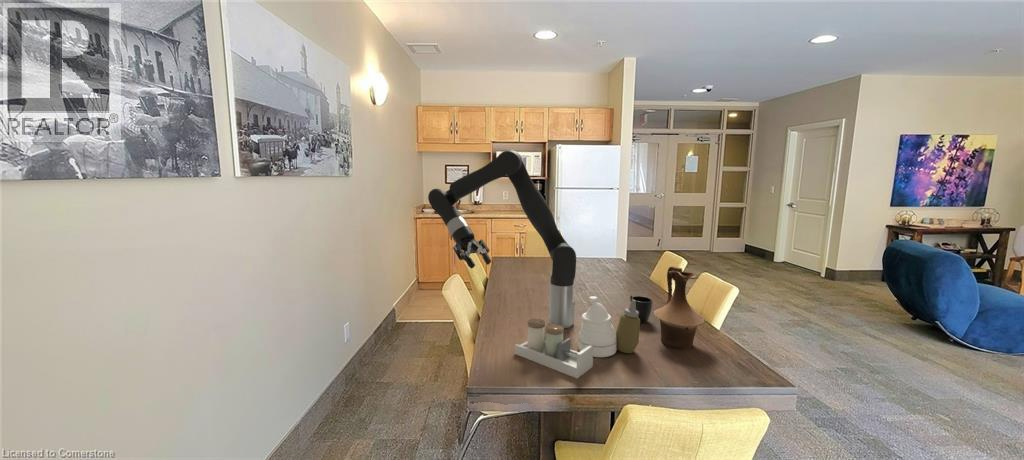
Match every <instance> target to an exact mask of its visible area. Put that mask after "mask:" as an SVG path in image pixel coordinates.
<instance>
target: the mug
mask: <svg viewBox="0 0 1024 460" xmlns="http://www.w3.org/2000/svg"><path fill="white" fill-rule="evenodd" d="M629 300H630V302H631V301H632V300H635V301H636V310H637V311H638V312H639V315H638V318H639V319H640V324H647V323H648V322H649V321H648V320H649V318H650V316H651V314H652V309H653V308H652V307H653V299H652V298H650V297H648V296H641V295H633V294H631V295H630V298H629ZM646 322H647V323H646Z"/></svg>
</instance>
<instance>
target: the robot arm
mask: <svg viewBox="0 0 1024 460" xmlns="http://www.w3.org/2000/svg"><path fill="white" fill-rule="evenodd" d="M504 177H507V178H508V179H509V181H510V182H511V183H512V185H513V186H514V189H515V192H516V195H517V198H518V200H519V204H520V206H521V208H522V210H523V212H524V214H525V215H526V217H527V219H528V220H529V221H528V222H530V223H531V225H532V227H533V228H534V229H535V231H536V232H537V233H538V235H540V236H539V237H541V239H542V242H544V244H545V246H546V249H547V251H548V254H549V255H550V258H551V260H552V267H551V270H552V271H551V275H550V287H549V288H550V290H549V291H550V292H549V294H550V295H549V318H548V319H549V321H548V323H549V324H548V325H551V324H556V325H560V326H562V327H563V328H564V329H568V328H571V327H572V326H574V324H575V310H576V309H575V308H576V307H575V305H576V304H575V303H576V302H575V301H574V284H575V283H574V281H575V279H576V270H577V254H576V250H575V249H574V248H573V247H572V246H571V245H570V244H569V243H567V241H566V239H565V238H564V236H563V235H562V234H561V233H560V230H559V229H558V227H557V223H556V221H555V220H556V219H555V218H554V216H553V213H552V210H551V209H550V207H549V205H548V204H547V201H546V199H545V198H544V196H543V195H542V193H541V191H540V190H539V188H538V187H537V186H536V184H535V183H534V181H533V179H532V178H531V176H530V175H529V172H528V170H527V168H526V166H525V164H524V161H523V158H522V156H521V155H520V153H519V152H517V151H516V150H513V149H506V150H504V151H502V152H501V153H499V155H497V156H496V157H495V158H494V159H493V160H491V161H490V162H489V163H487V164H486V165H484V166H482V167H481V168H478V169H476V170H475V171H472V172H470V173H468V174H466V175H464V176H462V177H460V178H458V179H456V180H454V181H453V182H451V183H450V185H449V189H448V190H446V191H445V190H442V189H440V188H433V189H431V190H430V191H429V193H428V196H427V198H428V199H427V200H428V203H429V204H430V206H431V207H432V209H433V210H434V212H436V213H437V215H438V216H439V217H440V218H441V220H442V221H443V223H444V225H445V226H446V228H447V231H448V232H449V234H450V236H451V238H452V240H454V242H455V245H454V246H453V247H452V249H453V251H454V252H455V254H456V256H457V258H458V259H459V260H458V261H462V260H463V261H465V262H466V264H467V266H468V267H469V268H470V269H471V270H472V269H473V268H475V266H476V264H475V261H474V260H473V258H471V257H470V255H471V254H476V255H479V256H481V257H482V259H483V260H484V263H485V264H486V265H490V264H491V263H492V259H491V258H490V256H489V255H488V254H489V252H490V248H489V247H488V245H487V244H486V242H485V241H484V240H483V239H482V238H481V239H480V240H476V239H475V234H474V232H473V231H472V229H471V227H470V226H469V225H468V222H466V220H465V219H464V218H463V217H462V215H461V213H460V211H459V210H458V209H457V207H455V206H454V205H455V204H456V203H458V202H459V201H460V200H461V199H462V198H465V197H467V196H468V195H471V194H472V193H474V192H475V191H477V190H479V189H481V188H482V187H483V186H486V185H487V184H489V183H490V182H491V183H492V182H494V181H495V180H498V179H500V178H504Z"/></svg>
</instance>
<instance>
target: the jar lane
mask: <svg viewBox="0 0 1024 460" xmlns="http://www.w3.org/2000/svg"><path fill="white" fill-rule="evenodd" d="M545 345H546V339H544V352H543V353H540V352H537V351H535V350H532V349H529V348H528V340H527V341H525V342H523V343H521V344H518V343H515V345H514V354H515V355H516V356H520V357H521V358H525V359H526V360H530V361H532V362H535V363H537V364H540V365H542V366H545V367H547V368H550V369H552V370H554V371H558V372H560V373H562V374H565V375H568V376H570V377H572V378H575V379H579V378H580V377H582V376H583V375H584V374H586V372H588V371H590V369H592V368H594V367H593V366H594V357H592V346H590V345H589V346H588V347H586V348H585V349H583V350H582V351H580V350H579V351H577V350H574V349H571V348H570V353H572V354H575V355H576V357H575V358H573V357H570V356H569V357H568V358H567V359H565V360H564V361H561V360H559V359H556V358H553V357H551V356H548V355H545Z"/></svg>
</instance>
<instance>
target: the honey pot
mask: <svg viewBox="0 0 1024 460" xmlns="http://www.w3.org/2000/svg"><path fill="white" fill-rule="evenodd" d="M597 300H598V296H595V295H592V296H589V301H590V302H591V303H592V304H591V305H590V306H589V308H588V309H587V311H586V312H584V313H582V315H581V319H582V320H583V321H582V323H581V327H580V330H579V332H578V350H579V352H580V351H582V350H583V349H585V348H586V347H588V346H589V345H590V346H592V357H593V358H594V357H595V358H607V357H611V356H614V354H616V353H617V350H618V349H617V341H616V331H615V328H614V325H613V324H612V315H610V314H609V313H608V312H607V309H606V307H604V305H603V304H602V303H600V302H598V301H597Z"/></svg>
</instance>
